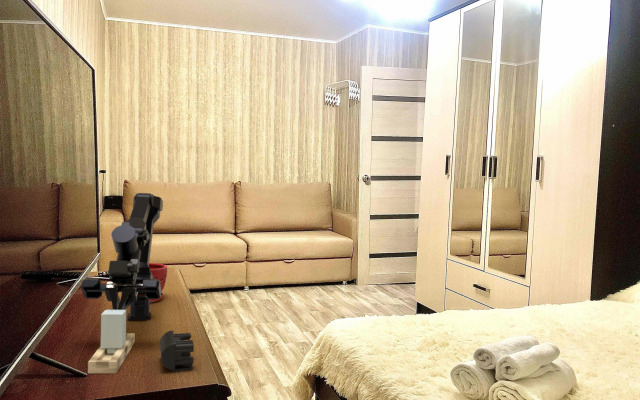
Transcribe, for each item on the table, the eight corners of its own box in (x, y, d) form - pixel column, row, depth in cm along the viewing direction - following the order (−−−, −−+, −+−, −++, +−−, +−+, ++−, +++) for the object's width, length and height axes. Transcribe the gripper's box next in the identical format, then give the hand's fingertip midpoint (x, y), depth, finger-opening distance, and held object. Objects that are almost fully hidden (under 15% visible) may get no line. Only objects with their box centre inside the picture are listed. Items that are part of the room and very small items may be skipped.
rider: (104, 348, 129) (105, 309, 129) (125, 347, 130) (126, 309, 129) (100, 353, 125) (101, 314, 125) (121, 353, 126) (122, 314, 125)
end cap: (159, 358, 129) (159, 330, 128) (189, 355, 131) (190, 329, 130) (160, 373, 119) (161, 344, 119) (193, 371, 121) (194, 342, 121)
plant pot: (159, 305, 174) (160, 269, 173) (119, 303, 174) (120, 267, 174) (171, 296, 187) (172, 262, 186) (134, 294, 187) (135, 260, 187)
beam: (109, 343, 137) (110, 333, 137) (134, 342, 138) (135, 333, 138) (87, 373, 117) (87, 361, 117) (116, 373, 118) (116, 361, 118)
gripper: (83, 246, 132) (68, 301, 122) (160, 248, 135) (152, 301, 125) (91, 271, 140) (78, 324, 130) (164, 272, 143) (156, 324, 133)
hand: (116, 318), depth 129 cm, fingers closed, pressing on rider
